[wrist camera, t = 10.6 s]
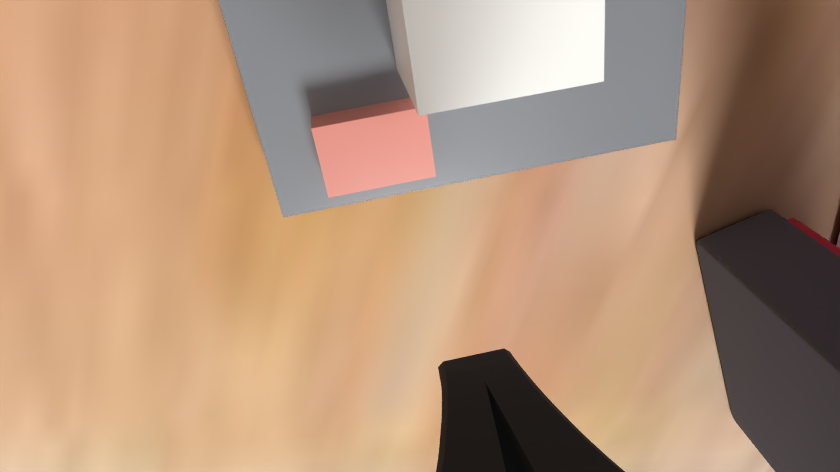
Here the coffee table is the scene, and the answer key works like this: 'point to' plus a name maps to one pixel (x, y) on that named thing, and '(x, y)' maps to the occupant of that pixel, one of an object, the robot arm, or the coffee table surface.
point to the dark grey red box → (778, 336)
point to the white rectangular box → (494, 49)
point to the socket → (438, 132)
